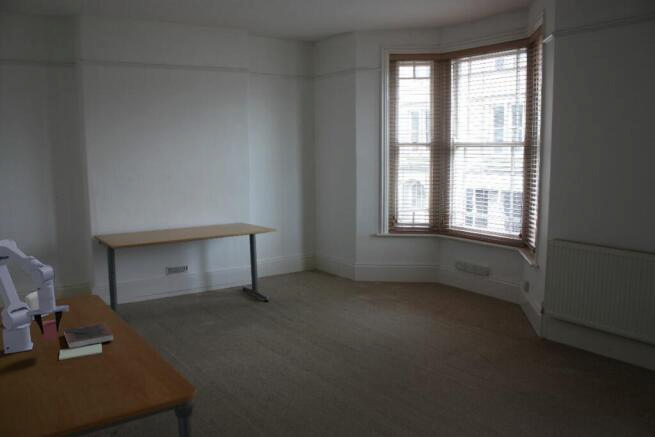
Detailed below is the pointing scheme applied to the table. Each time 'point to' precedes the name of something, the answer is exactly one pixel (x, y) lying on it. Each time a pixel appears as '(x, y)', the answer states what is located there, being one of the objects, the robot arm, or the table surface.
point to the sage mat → (80, 351)
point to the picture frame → (88, 335)
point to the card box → (49, 330)
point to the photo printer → (33, 302)
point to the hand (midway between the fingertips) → (50, 332)
